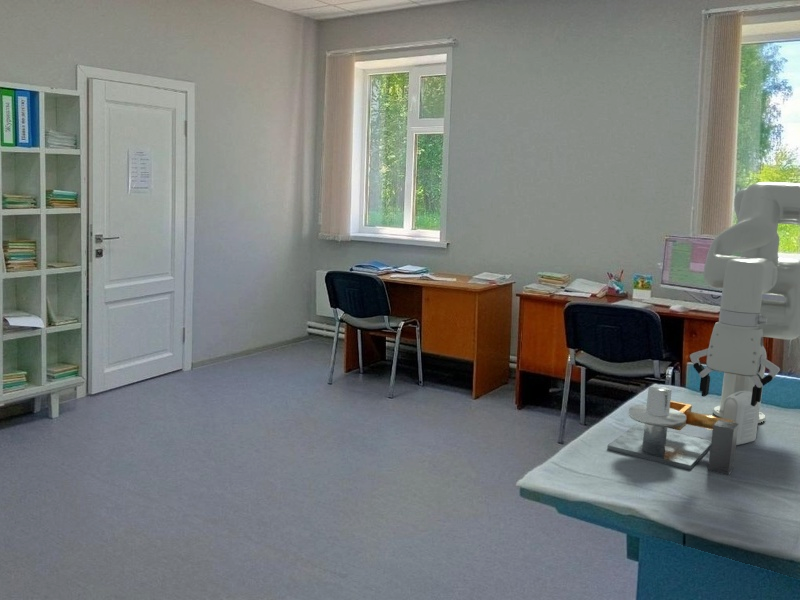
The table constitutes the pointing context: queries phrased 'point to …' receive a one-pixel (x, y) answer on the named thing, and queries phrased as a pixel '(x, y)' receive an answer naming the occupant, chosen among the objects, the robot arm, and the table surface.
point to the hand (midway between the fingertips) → (728, 399)
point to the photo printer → (742, 415)
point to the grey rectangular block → (723, 447)
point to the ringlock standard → (664, 431)
